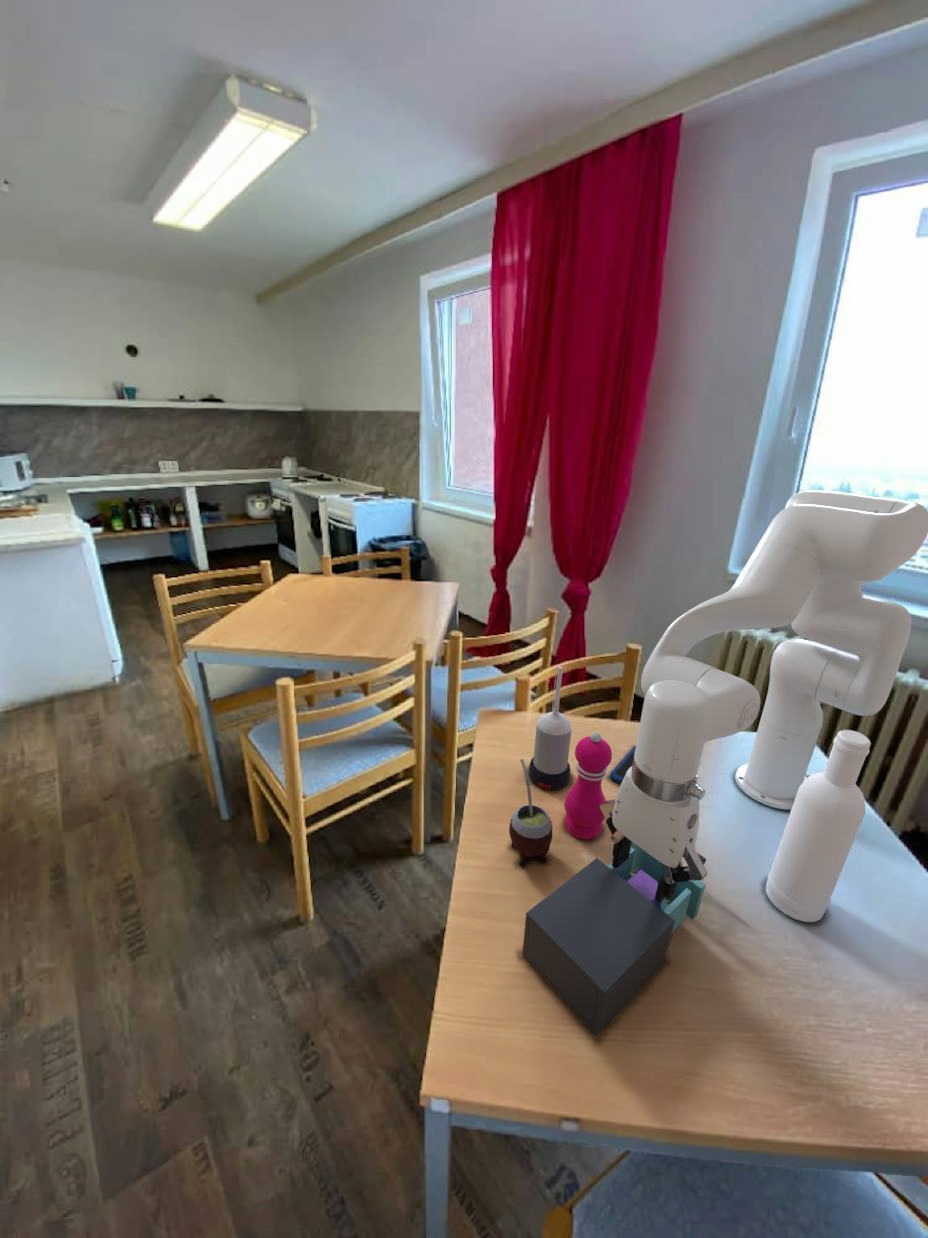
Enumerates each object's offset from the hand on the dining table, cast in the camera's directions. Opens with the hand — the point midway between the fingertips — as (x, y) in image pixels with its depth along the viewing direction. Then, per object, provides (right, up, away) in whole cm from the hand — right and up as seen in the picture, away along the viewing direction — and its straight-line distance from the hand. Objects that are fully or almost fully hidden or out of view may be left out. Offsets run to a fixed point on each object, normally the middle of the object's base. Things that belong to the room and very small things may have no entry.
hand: (641, 878), depth 72 cm
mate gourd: (-14, -3, +15) cm, 21 cm away
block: (0, -4, +2) cm, 5 cm away
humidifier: (-8, +4, +32) cm, 34 cm away
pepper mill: (-4, -1, +20) cm, 20 cm away
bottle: (+26, -7, +7) cm, 28 cm away
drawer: (+3, -6, +5) cm, 9 cm away
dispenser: (-7, -10, -2) cm, 12 cm away
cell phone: (+12, +5, +35) cm, 37 cm away
